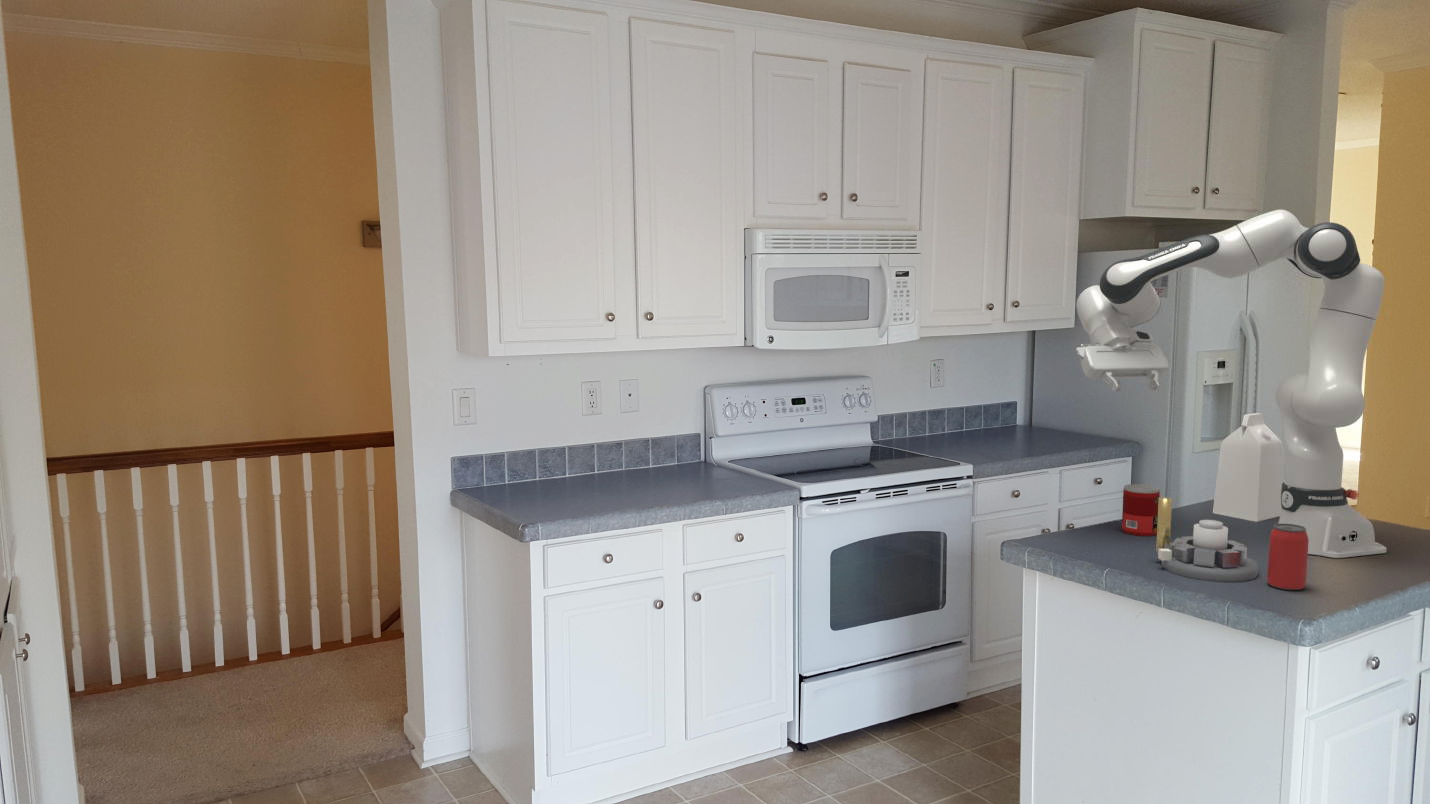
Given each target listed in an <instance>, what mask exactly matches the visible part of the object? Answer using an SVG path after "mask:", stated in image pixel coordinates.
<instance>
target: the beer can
mask: <svg viewBox="0 0 1430 804" xmlns="http://www.w3.org/2000/svg"><path fill="white" fill-rule="evenodd" d="M1308 542H1309V540H1308V535H1307V533H1306V528H1305V527H1303V526H1300V525H1295V524H1278V523H1276V524H1274V525H1273V529H1272V530H1271V532H1270V534H1269V544H1268V545H1269V546H1268V561H1267V563H1268V564H1267V575H1266V576H1267V579H1266V581H1267V584H1269V585H1270V586H1271V587H1273V588H1276V589H1279V590H1282V591H1283V590H1285V591H1300V590H1303V589H1305V587H1306V585H1307V569H1308V558H1309V557H1308V556H1309V554H1308Z"/></svg>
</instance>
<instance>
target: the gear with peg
mask: <svg viewBox="0 0 1430 804" xmlns="http://www.w3.org/2000/svg"><path fill="white" fill-rule="evenodd" d="M1172 504H1173V498H1172V497H1167V496H1160V497H1159V502H1158V523H1157V534H1156V547H1155V550H1156V551H1155V552H1156V553H1158V550H1159V549H1169V550H1171V551H1172V555H1173V556H1175V558H1176V559H1179V560H1181V561H1183V562H1186V563H1189V562H1194V565H1201V566H1208V567H1215V565H1217V566H1220V567H1222V568H1227V567H1240V565H1244V564H1245V563H1246V560H1247V555H1248V546H1246V544H1243V543H1240V542H1238V541H1234V540H1233V539H1232V540H1231V539H1230V540H1227V550H1211V549H1203V548H1197V547H1194V546H1193V535H1191V536H1181V537H1176V538H1175V539H1174V540H1173V542H1171V532H1172V531H1171V527H1172V511H1173V510H1172V508H1173V507H1172Z"/></svg>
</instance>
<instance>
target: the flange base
mask: <svg viewBox="0 0 1430 804" xmlns="http://www.w3.org/2000/svg"><path fill="white" fill-rule="evenodd" d="M1228 535H1229V528H1228V527H1227V526H1226V525H1224V523H1223V522H1222V521H1219V520H1215V519H1201V520H1199V523H1195V524H1193V533H1192V536H1193V546H1194V547H1197V548H1203V549H1211V550H1227V541H1228ZM1157 553H1158V554H1157V555H1158V556H1157V558H1158V559H1159V560H1161V567H1162V568H1163V569H1164V570H1166V571H1168V572H1170V573H1173V574H1175V575H1178V576H1181V577H1185V578H1190V579H1195V580H1200V581H1201V580H1202V581H1207V582H1208V581H1209V582H1222V583H1235V582H1245V581H1251V580H1254V579H1256V578H1257V576H1258V573H1259V564H1258V562H1257V561H1255V560H1254V559H1251V558H1249V557H1247V560H1246V563H1245V564H1244V565H1240V567H1227V568H1222V567H1220V566H1217V565H1215V567H1208V566H1201V565H1194V562H1189V563H1186V562H1183V561H1181V560H1179V559H1176V558H1175V556H1173V555H1172V551H1171V550H1169V549H1159V550H1158V552H1157Z"/></svg>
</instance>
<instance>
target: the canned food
mask: <svg viewBox="0 0 1430 804" xmlns="http://www.w3.org/2000/svg"><path fill="white" fill-rule="evenodd" d="M1160 492H1161V489H1160V488H1159V487H1158V486H1154V485H1149V484H1141V483H1140V484H1139V483H1136V484H1135V483H1133V484H1126V485H1123V491H1122V515H1121V516H1122V520H1121V529H1122V532H1124V533H1125V534H1128V535H1132V536H1139V537H1152V536H1157V523H1158V502H1159V497H1161V496H1160V495H1161V494H1160Z"/></svg>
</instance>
